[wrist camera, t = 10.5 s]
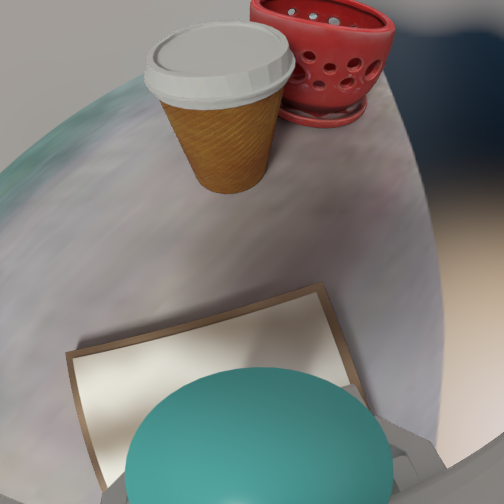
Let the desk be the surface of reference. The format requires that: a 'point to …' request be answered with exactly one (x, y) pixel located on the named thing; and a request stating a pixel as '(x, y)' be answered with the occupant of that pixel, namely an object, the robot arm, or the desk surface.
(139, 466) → the ball
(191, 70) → the disposable coffee cup
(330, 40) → the plant pot
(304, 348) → the clipboard
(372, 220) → the desk surface
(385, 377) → the desk surface
